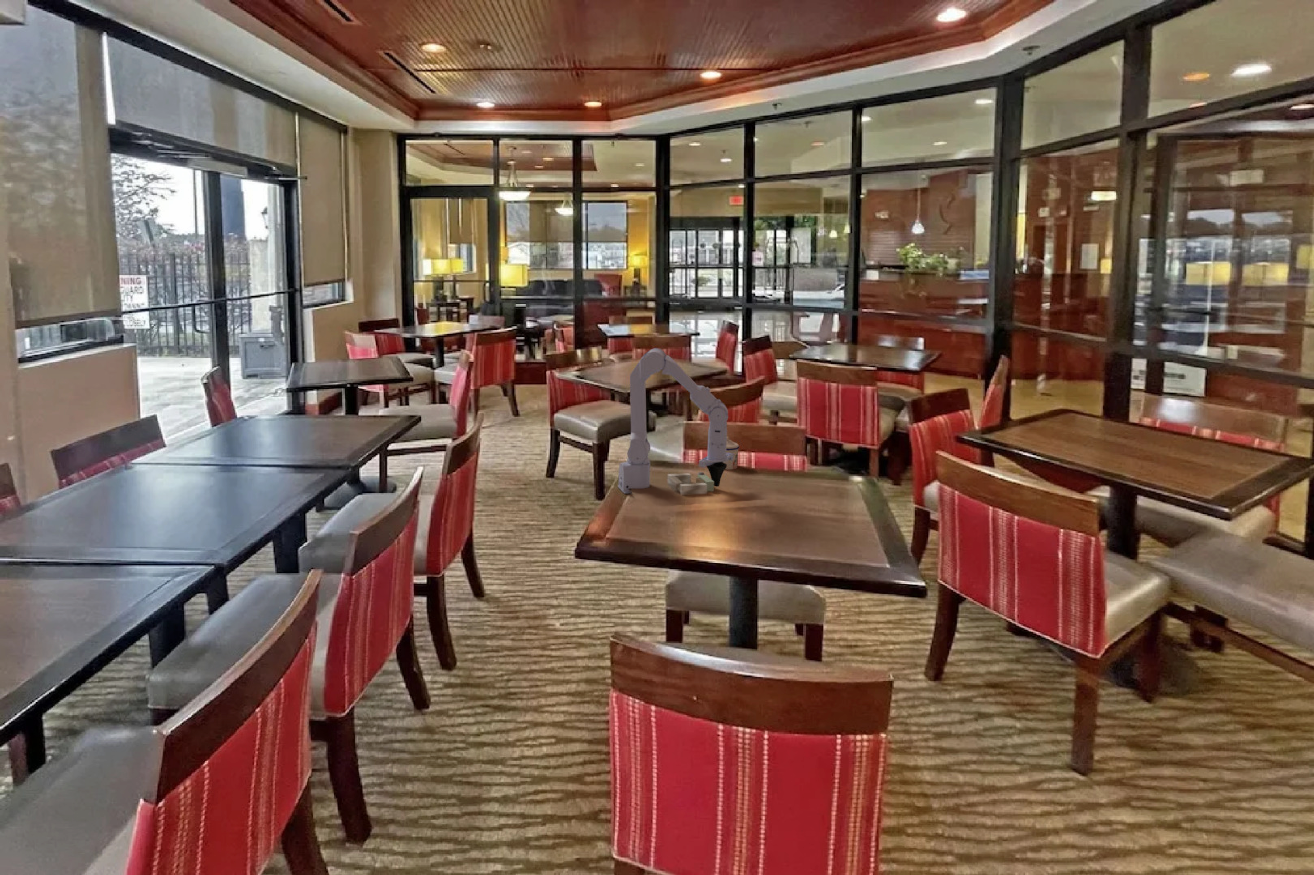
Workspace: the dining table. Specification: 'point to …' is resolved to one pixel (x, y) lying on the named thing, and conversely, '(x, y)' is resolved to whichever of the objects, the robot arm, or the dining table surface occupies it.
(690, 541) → the dining table surface
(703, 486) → the cream shallow tray
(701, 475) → the green rectangular block
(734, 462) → the teacup with lid
